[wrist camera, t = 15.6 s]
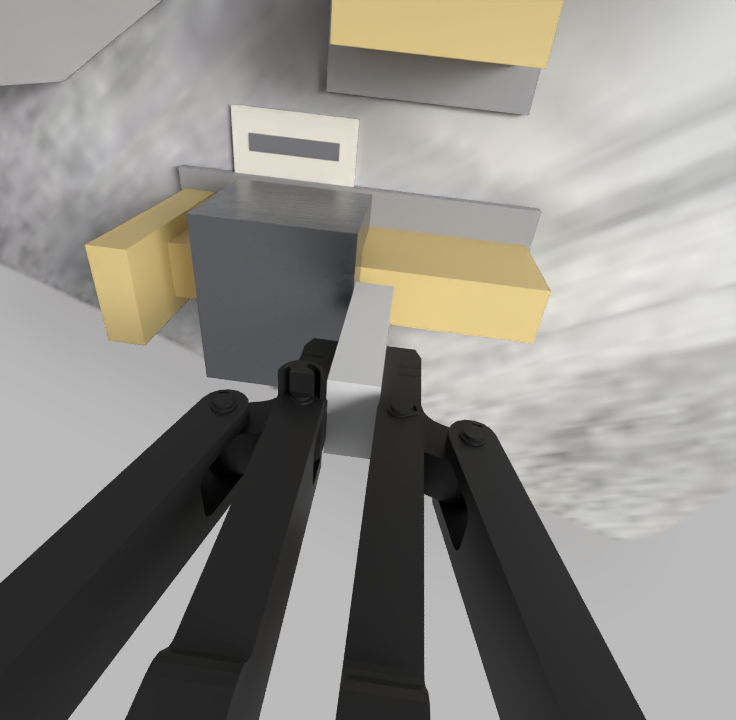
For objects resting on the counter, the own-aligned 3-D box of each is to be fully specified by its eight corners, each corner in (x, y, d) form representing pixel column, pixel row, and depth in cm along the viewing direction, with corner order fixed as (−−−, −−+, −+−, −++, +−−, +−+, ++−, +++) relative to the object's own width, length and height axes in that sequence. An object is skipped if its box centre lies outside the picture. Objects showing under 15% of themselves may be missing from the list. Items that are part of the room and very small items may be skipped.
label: (232, 104, 22) (230, 104, 22) (359, 118, 22) (358, 119, 21) (236, 171, 23) (234, 172, 23) (354, 185, 23) (353, 187, 23)
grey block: (238, 178, 21) (186, 213, 16) (372, 194, 20) (357, 234, 16) (247, 317, 25) (207, 377, 20) (359, 331, 24) (345, 395, 20)
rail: (182, 164, 24) (70, 215, 16) (538, 208, 23) (595, 282, 16) (195, 275, 27) (107, 360, 19) (507, 315, 26) (541, 419, 19)
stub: (335, -89, 18) (302, -147, 13) (571, -65, 18) (631, -113, 13) (328, 90, 21) (299, 101, 16) (526, 113, 21) (559, 132, 16)
